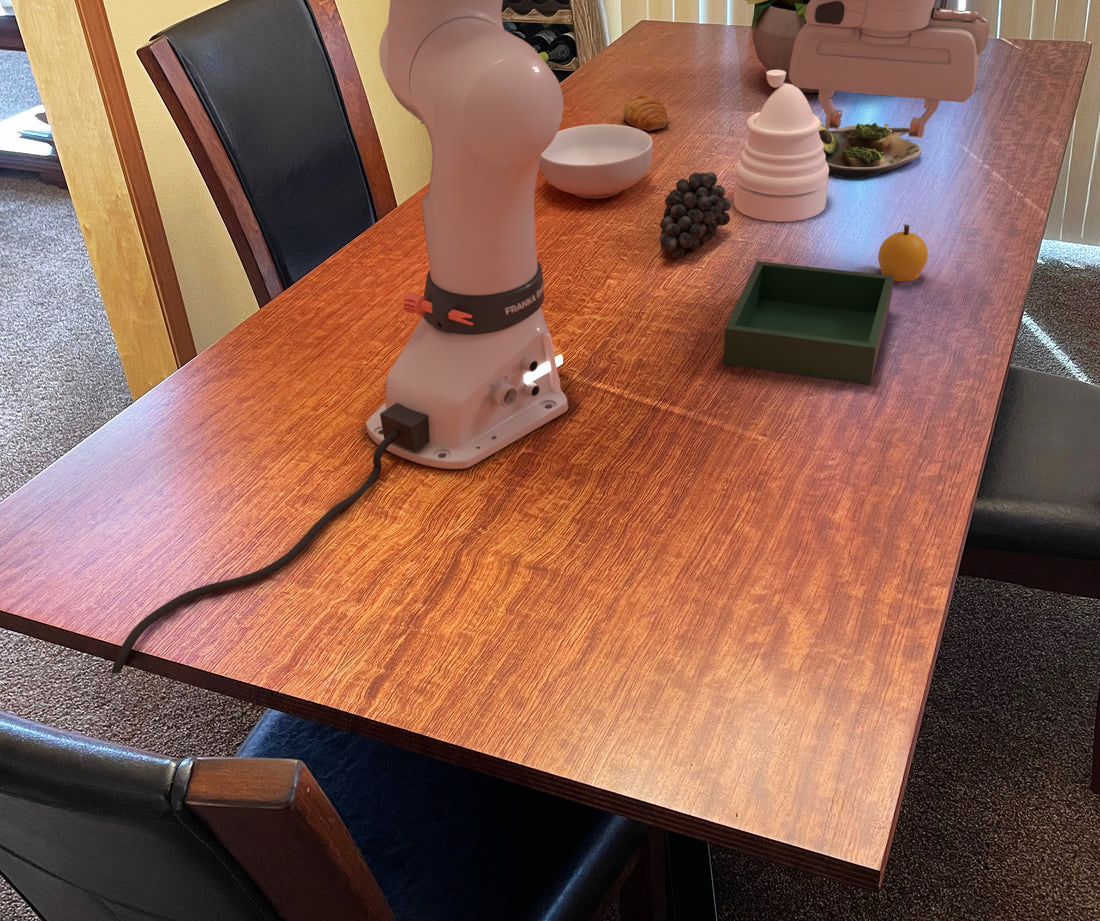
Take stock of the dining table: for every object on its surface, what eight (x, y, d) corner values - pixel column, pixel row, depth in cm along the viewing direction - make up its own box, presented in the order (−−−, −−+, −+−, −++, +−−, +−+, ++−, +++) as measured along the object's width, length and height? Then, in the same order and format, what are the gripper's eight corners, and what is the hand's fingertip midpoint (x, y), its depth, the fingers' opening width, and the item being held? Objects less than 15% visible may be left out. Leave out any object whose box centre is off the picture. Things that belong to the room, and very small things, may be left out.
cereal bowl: (609, 159, 175) (608, 114, 171) (675, 190, 163) (676, 144, 159) (518, 186, 168) (515, 141, 163) (581, 221, 156) (579, 173, 152)
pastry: (677, 129, 184) (677, 106, 182) (639, 136, 182) (639, 113, 180) (655, 112, 191) (655, 90, 189) (619, 118, 190) (618, 96, 188)
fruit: (680, 203, 137) (728, 158, 147) (624, 213, 142) (674, 169, 152) (699, 267, 141) (745, 219, 151) (644, 274, 146) (692, 227, 156)
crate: (869, 391, 117) (875, 347, 114) (722, 370, 122) (724, 328, 119) (888, 316, 130) (894, 275, 127) (754, 300, 135) (757, 260, 132)
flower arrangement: (880, 66, 205) (897, -78, 191) (881, 111, 186) (901, -46, 171) (744, 64, 211) (751, -77, 196) (732, 107, 191) (739, -45, 177)
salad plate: (874, 125, 181) (878, 96, 178) (950, 159, 168) (955, 129, 165) (775, 148, 175) (777, 119, 172) (846, 186, 161) (849, 155, 159)
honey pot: (716, 208, 157) (721, 80, 147) (763, 178, 165) (771, 55, 155) (797, 229, 150) (808, 96, 140) (842, 197, 158) (856, 69, 148)
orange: (924, 290, 135) (932, 237, 131) (874, 287, 136) (881, 234, 132) (923, 269, 139) (932, 217, 135) (875, 266, 141) (882, 214, 136)
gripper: (995, 4, 118) (971, 132, 126) (804, -8, 125) (793, 114, 133) (989, 19, 114) (964, 150, 122) (791, 6, 121) (780, 131, 129)
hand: (873, 131), depth 128 cm, fingers open, 8 cm apart
